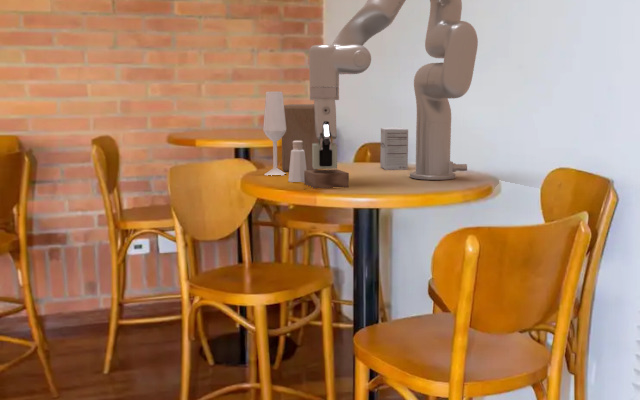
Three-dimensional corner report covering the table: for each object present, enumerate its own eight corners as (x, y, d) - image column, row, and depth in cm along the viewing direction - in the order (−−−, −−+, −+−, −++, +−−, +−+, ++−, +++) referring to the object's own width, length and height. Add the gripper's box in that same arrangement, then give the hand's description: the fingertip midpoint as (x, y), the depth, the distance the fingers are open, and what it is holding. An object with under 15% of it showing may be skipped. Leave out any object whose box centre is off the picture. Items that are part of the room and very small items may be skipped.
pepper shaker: (310, 182, 192) (310, 141, 190) (290, 183, 190) (290, 141, 189) (304, 179, 197) (304, 139, 195) (285, 180, 196) (285, 140, 194)
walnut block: (336, 184, 191) (336, 169, 190) (348, 188, 183) (348, 172, 182) (304, 185, 188) (304, 170, 187) (315, 190, 180) (315, 174, 179)
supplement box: (379, 167, 226) (380, 127, 224) (402, 167, 226) (403, 127, 224) (384, 170, 218) (384, 128, 216) (408, 169, 219) (408, 128, 217)
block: (313, 172, 214) (313, 105, 210) (281, 171, 216) (280, 105, 212) (320, 168, 223) (320, 104, 220) (289, 167, 225) (288, 104, 222)
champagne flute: (261, 173, 211) (260, 91, 207) (283, 172, 213) (282, 91, 209) (266, 176, 205) (265, 91, 201) (289, 175, 207) (288, 91, 203)
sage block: (335, 166, 188) (335, 143, 187) (337, 168, 182) (337, 145, 181) (312, 166, 187) (312, 143, 186) (313, 169, 181) (313, 145, 180)
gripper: (342, 94, 173) (342, 168, 176) (335, 93, 190) (336, 160, 193) (311, 95, 173) (312, 168, 176) (307, 94, 190) (308, 161, 193)
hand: (324, 164), depth 184 cm, fingers closed on sage block, 6 cm apart
